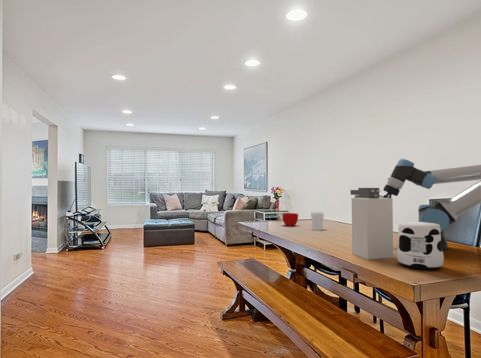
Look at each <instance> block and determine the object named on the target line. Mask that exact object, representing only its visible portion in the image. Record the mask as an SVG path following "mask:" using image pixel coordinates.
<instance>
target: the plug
mask: <svg viewBox="0 0 481 358" xmlns="http://www.w3.org/2000/svg"><path fill="white" fill-rule="evenodd" d="M380 193H381V190H380V187H358V188H357V189H351V190H350V196H351V195H352V196H353V195H354V196H358V197H357V198H380Z"/></svg>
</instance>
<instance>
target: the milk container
mask: <svg viewBox="0 0 481 358" xmlns="http://www.w3.org/2000/svg"><path fill="white" fill-rule="evenodd" d="M397 226H398V229H397V230H398V232H397V233H398V234H397V235H398V244H397V248H396V254H395V255H396V259H397V261H398V263H399V264H401V265H402V266H405V267H408V268H413V269H418V270H419V269H420V270H436V269H439V268H441V267H442V266H443V264H444V261H445V260H444V259H445V258H444V257H445V256H444V252H443V250H442V249H441V234H440V233H441V229H440V225H439V224H435V223H427V222H419V221H401V222H398V225H397Z"/></svg>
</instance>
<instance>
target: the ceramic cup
mask: <svg viewBox="0 0 481 358" xmlns="http://www.w3.org/2000/svg"><path fill="white" fill-rule="evenodd" d="M281 214H282V222H283V224H285V225H284V226H286V225H287V226H286V227H290V226H292V227H296V225H297V224H298V220H299V214H298V213H294V212H290V213H289V212H288V213H287V212H286V213H281Z"/></svg>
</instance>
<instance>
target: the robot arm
mask: <svg viewBox="0 0 481 358" xmlns="http://www.w3.org/2000/svg"><path fill="white" fill-rule="evenodd" d="M414 165H415V163H414V162H413V161H410V160H408V159H407V158H406V159H405V158H400V159H399V160H398V161H397V163H396V165H395V167H394V168H393V170H392V172H391V175H390V177H387V182H386V184H385V185H384V186H383V191H384V192H385V193H386V194H384V195H383V197H382V198H392V195H393V196H395V197H398V195H399V194H400V192H401V190H402V188H403V187H404V185H405V182H406V181H408V182H411V183H412V184H414V185H416V186H420V187H422V188H425V189H428V190H430V189H431V188H432V187H433V186H434V185H436V184H437V185H438V184H439V185H440V184H449V183H458V182H459V183H460V182H470V181H471V182H472V181H477V182H476V183H474V184H472V185H470V186H469V187H468V188H465V189H464V190H463V191H461V192H459V193H457V194H456V195H454V196H453V197H451V198H449V199H448V200H447V201H439V202H437V203H436V204H435V203H434V204H420V205H419V206H418V209H417V211H418V222H427V223H435V224H439V225H440V229H441V233H440V234H441V249H442V251H444V250H448V249H449V243H448V241H447V239H446V238H447V237H446V235H445V230H447V229H448V228H449V226H450V225H452V224H454V223H456V222H457V220H458V217H459V216H461V215H462V214H464V213H466V212H468V211H469V210H471V209H473V208H474V207H477V206H478V205H480V204H481V164H477V165H476V164H474V165H469V166H460V167H450V168H442V169H435V170H426V171H425V170H422V169H419V168H416V167H415V166H414Z"/></svg>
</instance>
